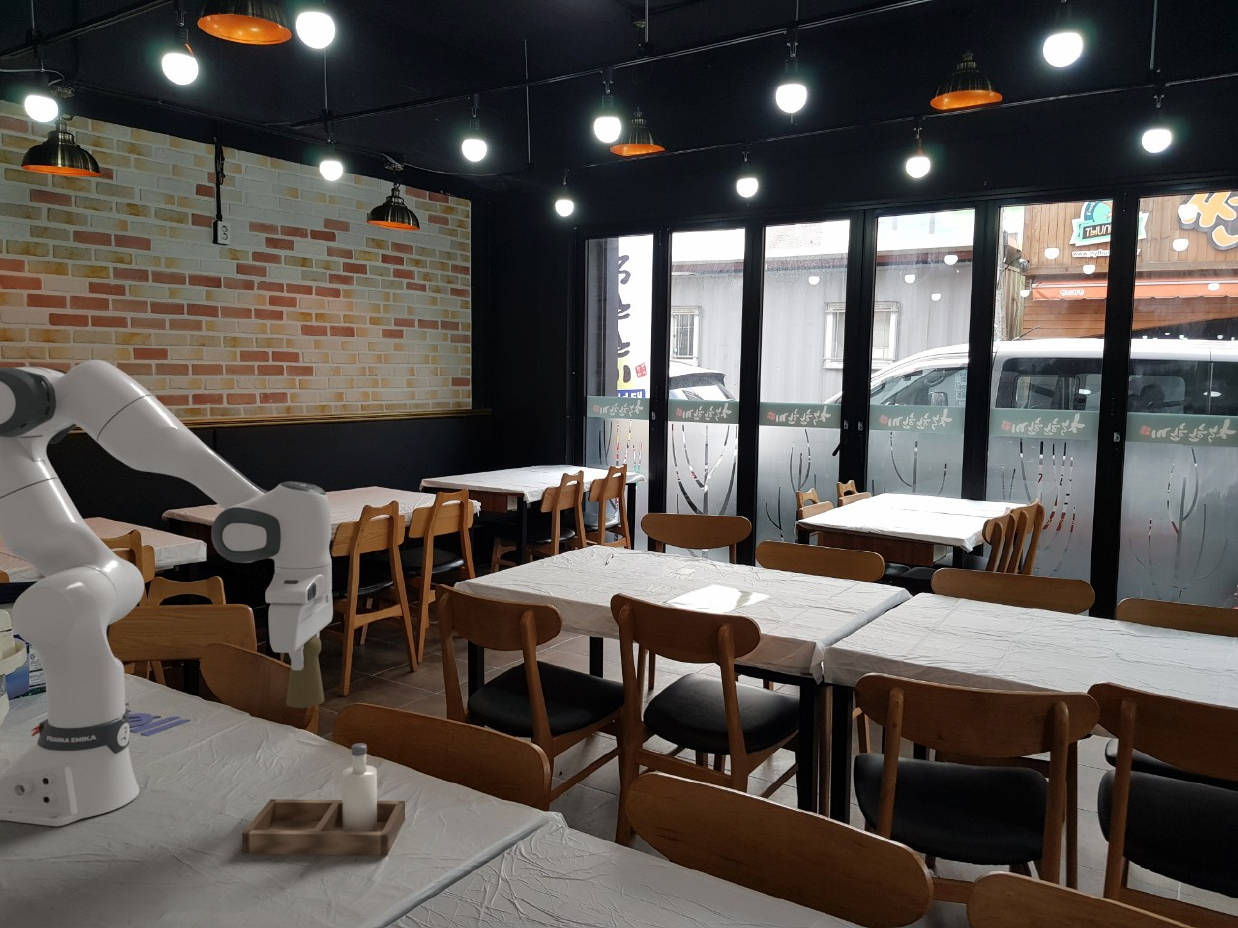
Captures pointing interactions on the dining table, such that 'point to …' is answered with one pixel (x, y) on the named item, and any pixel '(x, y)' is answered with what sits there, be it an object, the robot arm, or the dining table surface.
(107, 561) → the robot arm
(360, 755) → the cruet bottle
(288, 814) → the condiment caddy
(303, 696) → the olive green pepper mill
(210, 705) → the dining table surface
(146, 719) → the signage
